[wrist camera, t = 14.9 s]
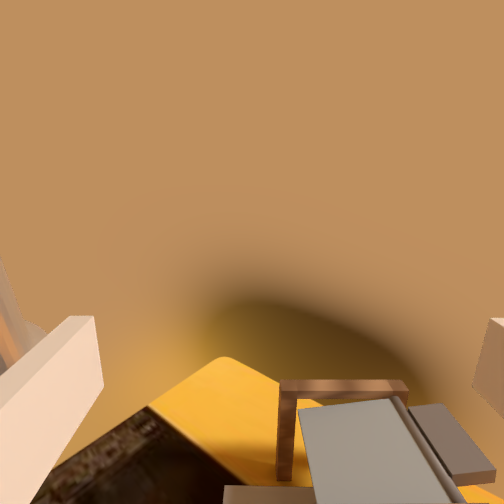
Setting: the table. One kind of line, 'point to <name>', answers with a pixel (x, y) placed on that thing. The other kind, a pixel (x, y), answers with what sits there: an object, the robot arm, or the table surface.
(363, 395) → the trapdoor frame
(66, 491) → the table surface
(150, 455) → the table surface
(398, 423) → the flap
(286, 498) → the granite block
